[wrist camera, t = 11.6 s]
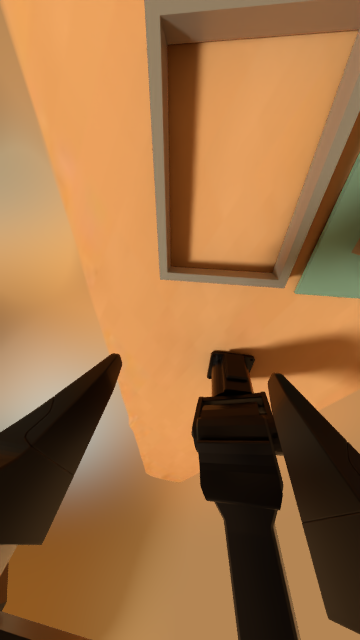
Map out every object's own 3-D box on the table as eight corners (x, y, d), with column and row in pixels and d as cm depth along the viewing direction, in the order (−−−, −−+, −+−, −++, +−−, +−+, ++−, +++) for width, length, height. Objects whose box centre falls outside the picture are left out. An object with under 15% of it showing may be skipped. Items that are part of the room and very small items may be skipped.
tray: (277, 280, 18) (284, 288, 16) (164, 272, 19) (160, 279, 17) (385, 0, 9) (426, -46, 7) (154, 22, 10) (143, -14, 8)
